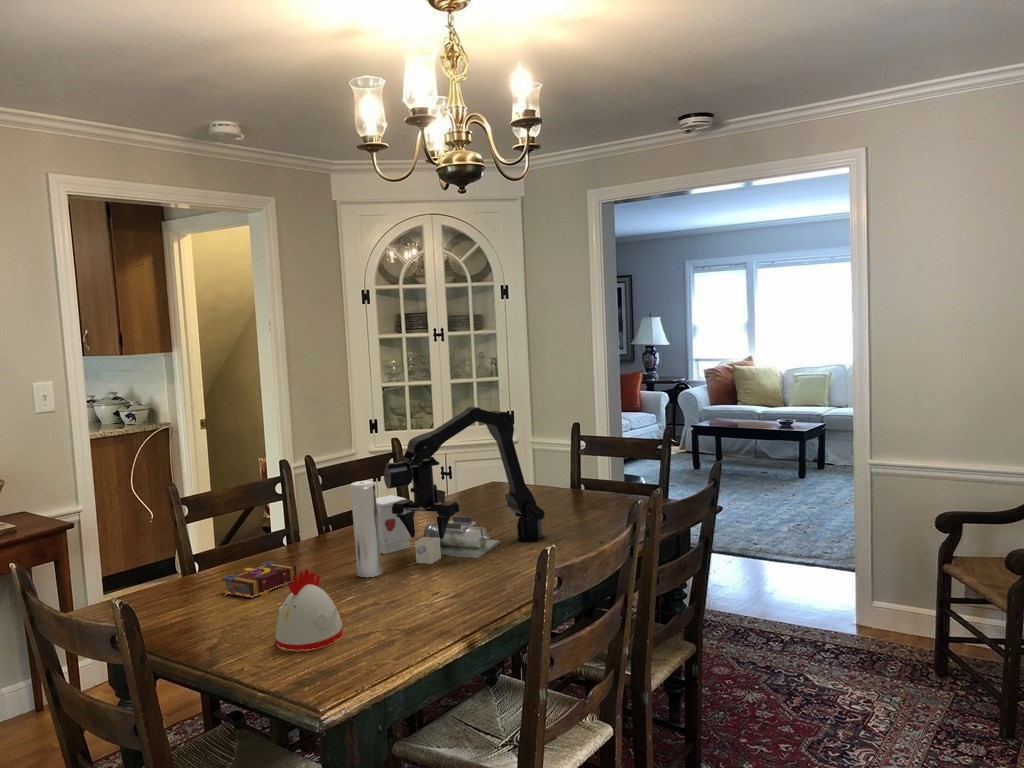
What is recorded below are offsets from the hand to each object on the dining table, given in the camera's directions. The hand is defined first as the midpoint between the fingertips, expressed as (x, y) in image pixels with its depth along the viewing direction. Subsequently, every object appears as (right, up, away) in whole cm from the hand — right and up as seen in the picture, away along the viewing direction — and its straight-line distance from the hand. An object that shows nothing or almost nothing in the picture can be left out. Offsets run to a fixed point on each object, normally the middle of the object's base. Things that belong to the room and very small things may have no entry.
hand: (427, 538), depth 217 cm
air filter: (-14, -8, -8) cm, 19 cm away
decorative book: (-42, -11, -13) cm, 46 cm away
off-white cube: (0, -6, 0) cm, 7 cm away
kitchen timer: (-20, -12, -49) cm, 55 cm away
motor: (+8, -5, +10) cm, 14 cm away
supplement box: (-13, -6, +15) cm, 21 cm away
